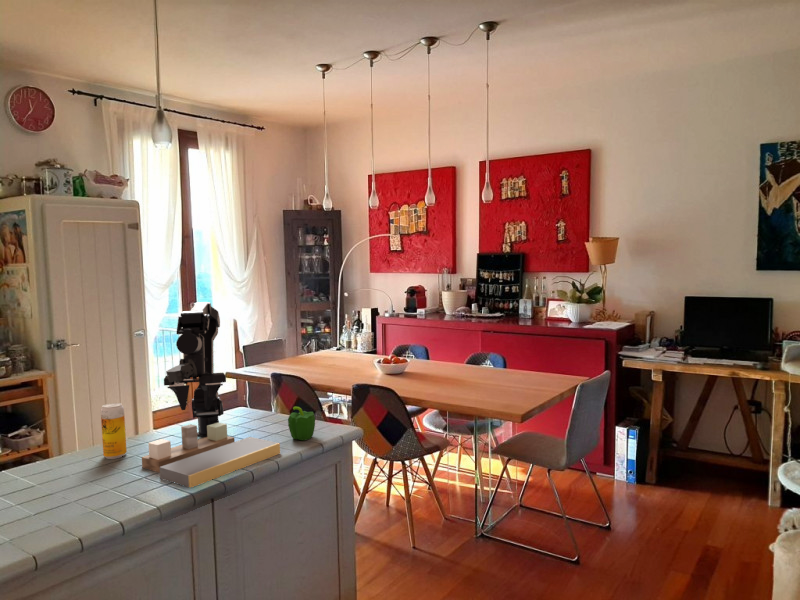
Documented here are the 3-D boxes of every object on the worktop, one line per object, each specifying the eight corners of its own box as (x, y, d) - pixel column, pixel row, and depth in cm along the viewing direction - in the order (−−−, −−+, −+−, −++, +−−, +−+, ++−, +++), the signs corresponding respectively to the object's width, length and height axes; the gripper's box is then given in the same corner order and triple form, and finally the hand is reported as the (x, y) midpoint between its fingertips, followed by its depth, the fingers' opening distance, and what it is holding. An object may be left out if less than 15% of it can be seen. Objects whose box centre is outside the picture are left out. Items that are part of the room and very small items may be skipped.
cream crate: (149, 457, 163) (148, 442, 163) (162, 453, 167) (161, 438, 166) (158, 459, 161) (157, 445, 161) (171, 455, 164) (170, 441, 164)
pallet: (142, 467, 164) (140, 435, 163) (217, 443, 184) (216, 414, 184) (159, 473, 159) (157, 439, 159) (234, 447, 180) (233, 417, 179)
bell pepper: (321, 436, 188) (320, 404, 187) (305, 443, 181) (304, 411, 180) (300, 433, 192) (299, 402, 191) (283, 440, 185) (282, 408, 184)
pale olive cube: (207, 438, 179) (206, 425, 179) (218, 435, 182) (217, 422, 182) (216, 440, 177) (215, 427, 176) (227, 437, 180) (226, 424, 180)
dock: (160, 478, 155) (159, 467, 155) (250, 446, 179) (249, 436, 179) (190, 488, 148) (189, 476, 147) (280, 453, 172) (279, 443, 172)
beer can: (98, 458, 173) (95, 406, 171) (115, 451, 178) (112, 401, 177) (114, 460, 170) (111, 408, 169) (131, 453, 176) (128, 403, 175)
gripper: (147, 357, 169) (148, 413, 168) (197, 353, 161) (198, 412, 159) (178, 356, 179) (179, 409, 177) (226, 352, 171) (228, 408, 169)
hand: (195, 409), depth 171 cm, fingers open, 9 cm apart
